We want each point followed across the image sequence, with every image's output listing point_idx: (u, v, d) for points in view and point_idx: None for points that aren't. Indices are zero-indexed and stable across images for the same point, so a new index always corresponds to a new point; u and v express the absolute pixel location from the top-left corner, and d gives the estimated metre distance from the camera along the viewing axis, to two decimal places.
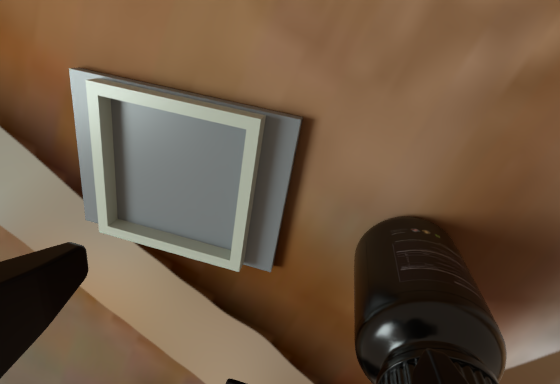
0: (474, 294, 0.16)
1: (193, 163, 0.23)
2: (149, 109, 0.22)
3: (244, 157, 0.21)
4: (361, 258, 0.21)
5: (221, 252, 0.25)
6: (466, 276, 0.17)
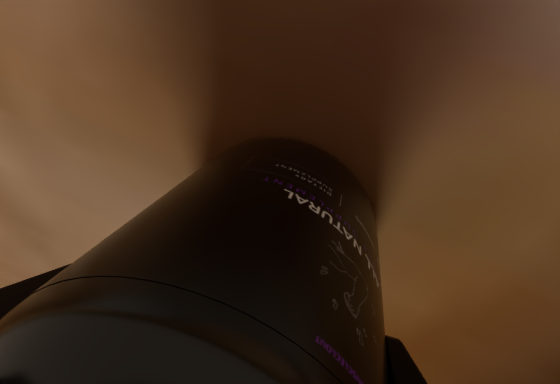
0: None
1: None
2: None
3: None
4: None
5: None
6: None
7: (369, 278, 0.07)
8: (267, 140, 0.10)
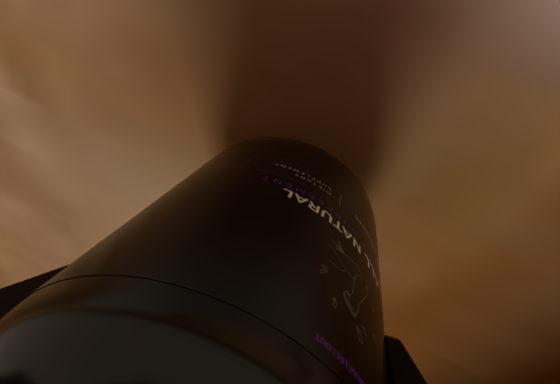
0: None
1: None
2: None
3: None
4: None
5: None
6: None
7: (368, 277, 0.07)
8: (267, 140, 0.10)
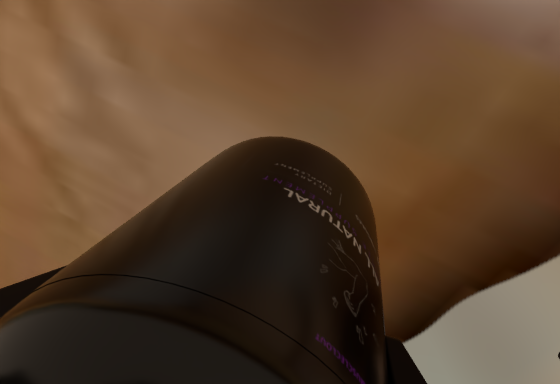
0: None
1: None
2: None
3: None
4: None
5: None
6: None
7: (369, 277, 0.07)
8: (267, 139, 0.10)
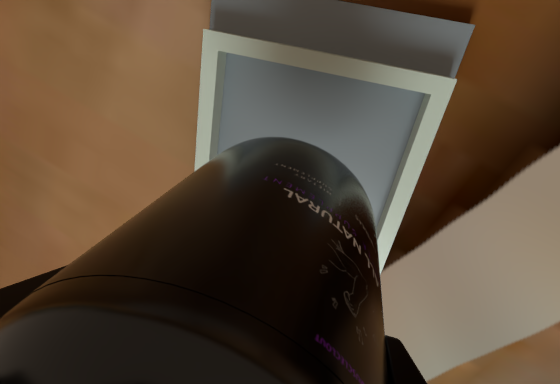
0: None
1: None
2: None
3: (254, 55, 0.15)
4: None
5: (421, 112, 0.15)
6: None
7: (369, 277, 0.07)
8: (267, 139, 0.10)
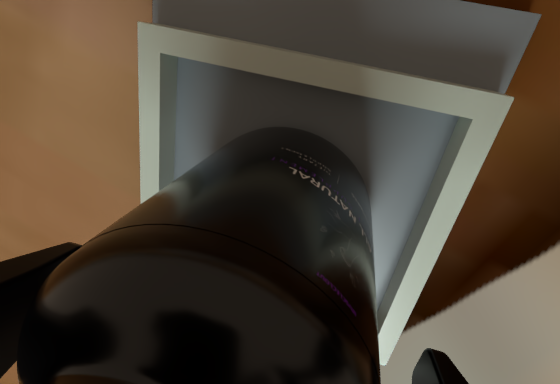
0: None
1: None
2: None
3: (211, 60, 0.11)
4: None
5: (454, 142, 0.11)
6: None
7: (362, 242, 0.08)
8: (272, 129, 0.11)
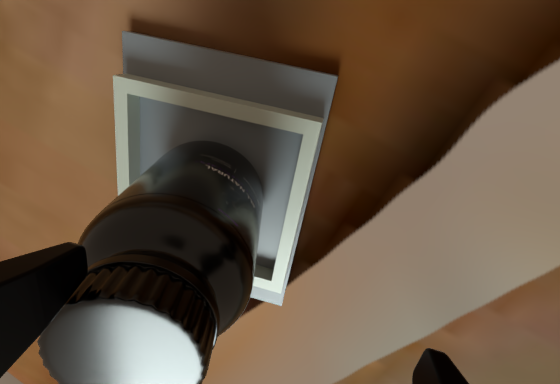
0: None
1: None
2: None
3: (157, 98, 0.18)
4: None
5: None
6: None
7: (247, 201, 0.15)
8: (195, 142, 0.18)
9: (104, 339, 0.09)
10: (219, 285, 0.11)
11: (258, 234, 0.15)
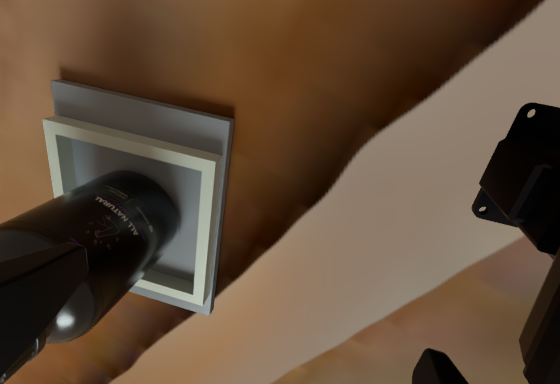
0: None
1: None
2: None
3: (80, 138, 0.21)
4: None
5: None
6: None
7: (124, 229, 0.18)
8: (116, 172, 0.21)
9: None
10: None
11: (135, 257, 0.18)
